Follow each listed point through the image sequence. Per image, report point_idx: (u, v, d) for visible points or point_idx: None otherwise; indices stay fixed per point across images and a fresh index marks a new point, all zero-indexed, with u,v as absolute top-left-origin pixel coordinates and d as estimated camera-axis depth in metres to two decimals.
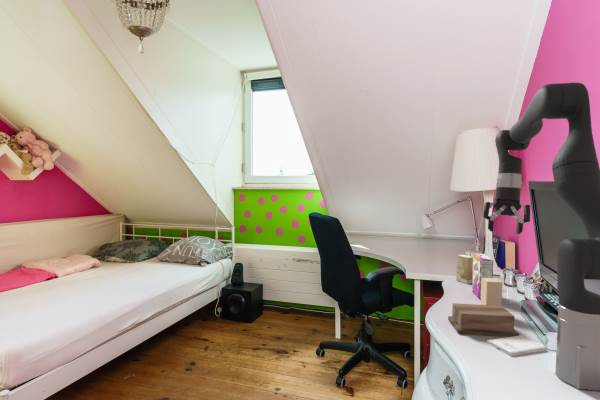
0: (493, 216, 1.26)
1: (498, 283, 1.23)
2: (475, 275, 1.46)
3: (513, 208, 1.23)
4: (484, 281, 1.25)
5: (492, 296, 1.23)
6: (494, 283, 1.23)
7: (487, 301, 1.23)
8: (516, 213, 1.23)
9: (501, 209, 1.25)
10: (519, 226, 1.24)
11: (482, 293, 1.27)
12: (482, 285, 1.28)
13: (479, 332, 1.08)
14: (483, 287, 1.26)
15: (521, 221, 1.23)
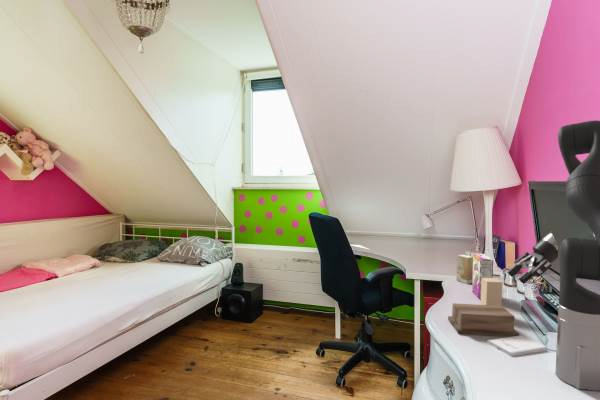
0: (519, 262, 1.28)
1: (498, 283, 1.23)
2: (475, 275, 1.46)
3: (533, 258, 1.22)
4: (484, 281, 1.25)
5: (492, 296, 1.23)
6: (494, 283, 1.23)
7: (487, 301, 1.23)
8: (531, 262, 1.21)
9: (526, 257, 1.25)
10: (524, 274, 1.20)
11: (482, 293, 1.27)
12: (482, 285, 1.28)
13: (479, 332, 1.08)
14: (483, 287, 1.26)
15: (529, 270, 1.19)
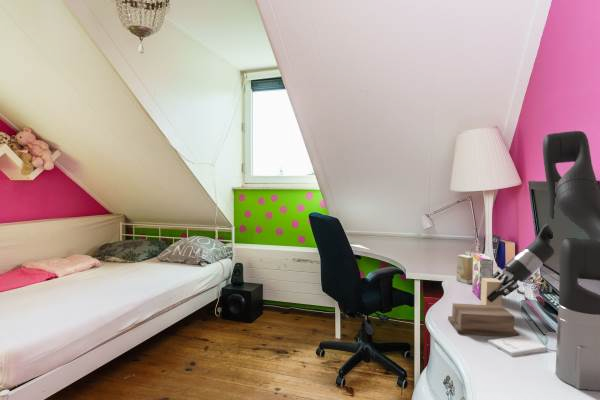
0: None
1: (498, 283, 1.23)
2: (475, 275, 1.46)
3: (504, 276, 1.23)
4: (484, 281, 1.25)
5: None
6: (494, 283, 1.23)
7: (487, 301, 1.23)
8: (501, 281, 1.23)
9: (498, 276, 1.27)
10: (492, 292, 1.23)
11: (482, 293, 1.27)
12: (482, 285, 1.28)
13: (479, 332, 1.08)
14: (483, 287, 1.26)
15: (496, 289, 1.22)
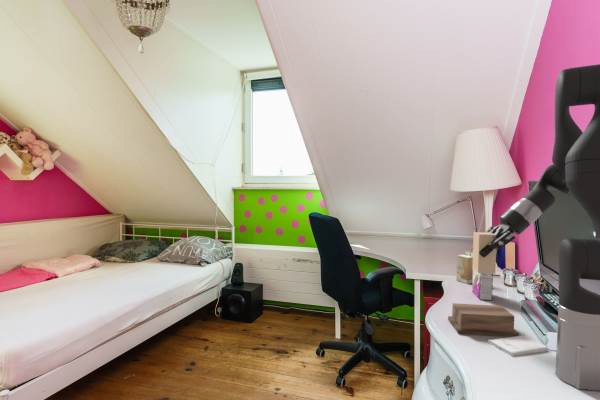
0: None
1: (492, 236, 1.09)
2: (475, 275, 1.46)
3: (498, 229, 1.10)
4: (476, 235, 1.12)
5: None
6: (487, 236, 1.09)
7: (479, 257, 1.10)
8: (495, 234, 1.09)
9: (492, 229, 1.13)
10: (485, 246, 1.09)
11: (474, 249, 1.13)
12: (474, 240, 1.14)
13: (479, 332, 1.08)
14: (475, 242, 1.12)
15: (489, 242, 1.09)
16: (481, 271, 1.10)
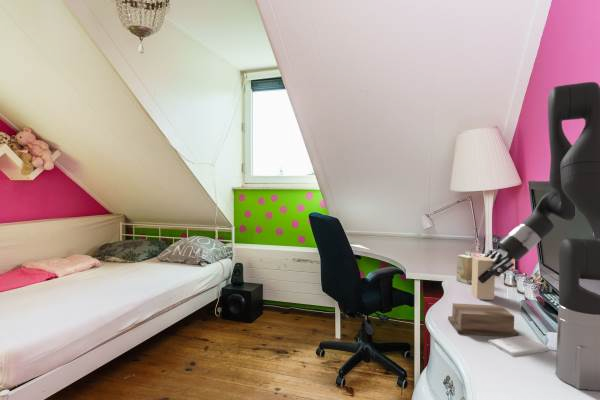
0: None
1: (490, 262, 1.09)
2: None
3: (497, 254, 1.10)
4: (475, 260, 1.12)
5: None
6: (486, 262, 1.10)
7: (478, 282, 1.10)
8: None
9: (491, 254, 1.13)
10: (484, 272, 1.10)
11: (473, 274, 1.14)
12: (472, 264, 1.14)
13: (479, 332, 1.08)
14: (474, 267, 1.13)
15: (488, 268, 1.09)
16: (480, 297, 1.10)
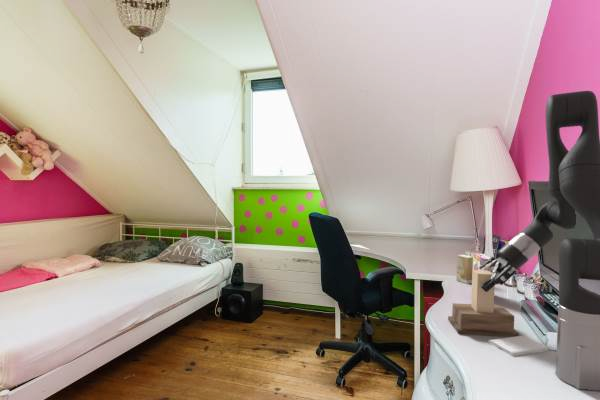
0: (483, 268, 1.16)
1: (490, 275, 1.10)
2: None
3: (497, 263, 1.10)
4: (475, 273, 1.12)
5: (483, 290, 1.10)
6: (486, 275, 1.10)
7: (478, 296, 1.10)
8: (495, 268, 1.09)
9: (491, 262, 1.14)
10: (487, 281, 1.08)
11: (473, 287, 1.14)
12: (472, 277, 1.14)
13: (479, 332, 1.08)
14: (474, 280, 1.13)
15: (492, 277, 1.08)
16: (479, 310, 1.10)
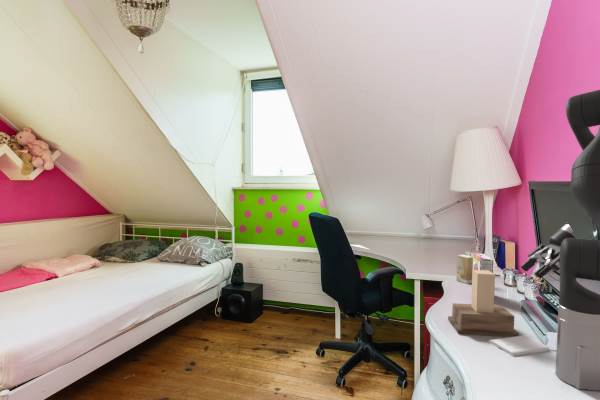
0: (533, 255, 1.14)
1: (490, 275, 1.10)
2: None
3: (550, 250, 1.08)
4: (475, 273, 1.12)
5: (483, 290, 1.10)
6: (486, 275, 1.10)
7: (478, 296, 1.10)
8: (548, 254, 1.07)
9: (542, 249, 1.12)
10: (541, 267, 1.06)
11: (473, 287, 1.14)
12: (472, 277, 1.14)
13: (479, 332, 1.08)
14: (474, 280, 1.13)
15: (546, 263, 1.06)
16: (479, 310, 1.10)
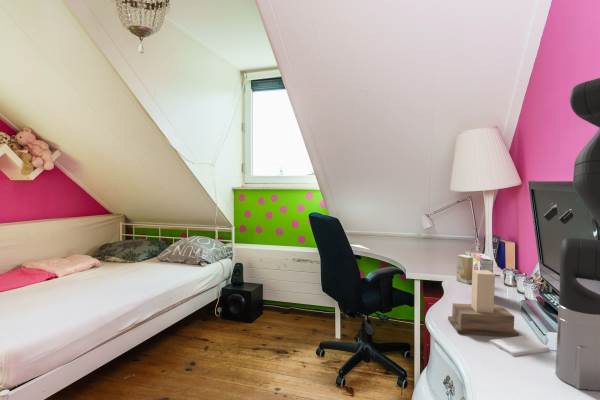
0: None
1: (490, 275, 1.10)
2: None
3: None
4: (475, 273, 1.12)
5: (483, 290, 1.10)
6: (486, 275, 1.10)
7: (478, 296, 1.10)
8: None
9: None
10: (565, 213, 1.06)
11: (473, 287, 1.14)
12: (472, 277, 1.14)
13: (479, 332, 1.08)
14: (474, 280, 1.13)
15: None
16: (479, 310, 1.10)
